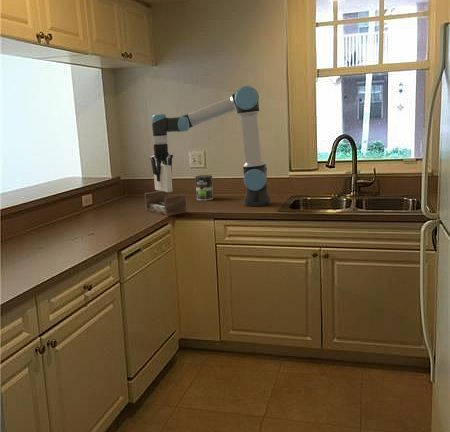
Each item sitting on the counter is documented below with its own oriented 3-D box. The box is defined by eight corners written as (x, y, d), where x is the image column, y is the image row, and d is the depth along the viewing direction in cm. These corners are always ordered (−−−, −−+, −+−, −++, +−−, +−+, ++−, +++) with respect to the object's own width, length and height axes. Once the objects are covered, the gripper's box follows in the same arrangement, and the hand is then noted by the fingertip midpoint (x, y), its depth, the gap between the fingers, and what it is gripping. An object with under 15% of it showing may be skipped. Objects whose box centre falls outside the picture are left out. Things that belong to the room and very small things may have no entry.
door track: (186, 212, 284) (185, 195, 282) (167, 216, 277) (165, 198, 275) (164, 206, 303) (162, 190, 301) (145, 210, 296) (144, 193, 294)
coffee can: (210, 200, 315) (209, 177, 312) (194, 200, 318) (192, 177, 315) (215, 197, 325) (214, 174, 322) (199, 197, 328) (198, 175, 325)
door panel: (172, 191, 283) (170, 165, 280) (167, 192, 281) (165, 166, 278) (159, 188, 294) (157, 163, 291) (154, 189, 292) (152, 164, 289)
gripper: (169, 142, 290) (172, 184, 295) (143, 144, 281) (147, 187, 285) (176, 142, 284) (179, 185, 289) (150, 144, 275) (153, 189, 279)
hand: (163, 186), depth 287 cm, fingers closed on door panel, 3 cm apart
